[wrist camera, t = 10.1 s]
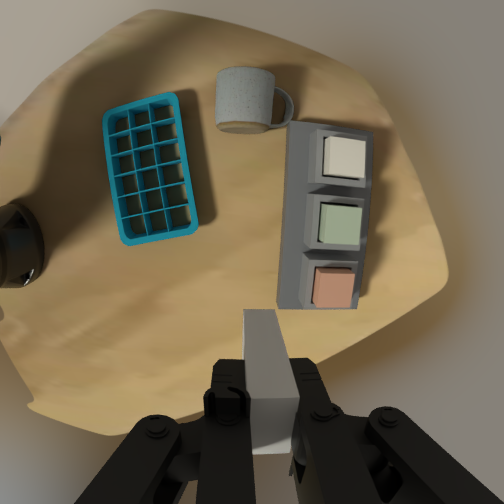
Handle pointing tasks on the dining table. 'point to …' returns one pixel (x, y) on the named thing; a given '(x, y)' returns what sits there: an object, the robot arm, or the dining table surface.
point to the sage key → (339, 224)
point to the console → (307, 213)
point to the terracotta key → (332, 287)
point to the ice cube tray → (116, 176)
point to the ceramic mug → (248, 101)
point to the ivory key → (343, 157)
